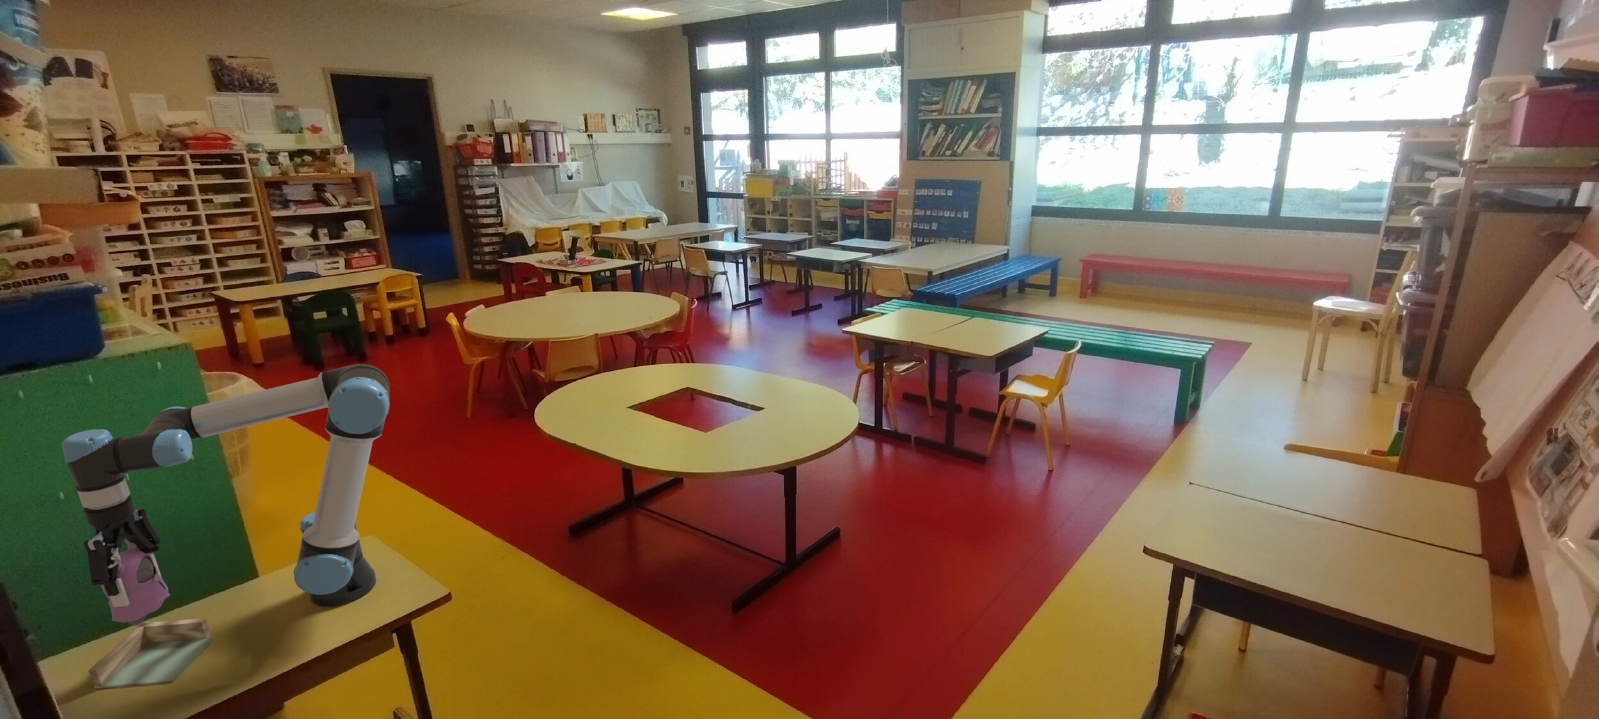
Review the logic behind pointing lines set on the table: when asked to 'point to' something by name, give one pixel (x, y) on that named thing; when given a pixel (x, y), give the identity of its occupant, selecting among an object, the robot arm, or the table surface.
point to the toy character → (137, 585)
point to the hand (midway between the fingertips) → (138, 591)
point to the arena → (152, 654)
